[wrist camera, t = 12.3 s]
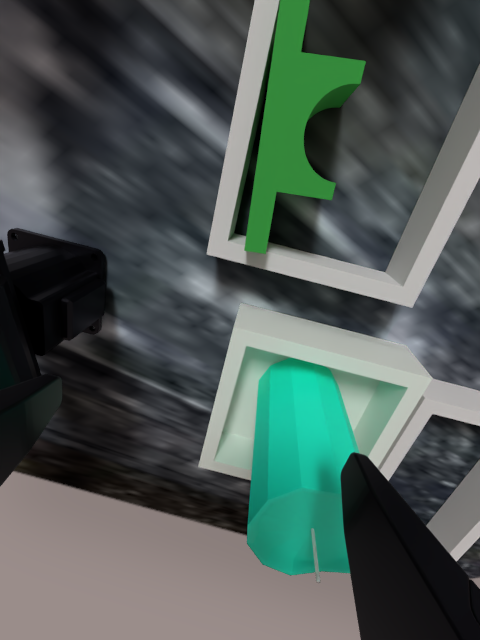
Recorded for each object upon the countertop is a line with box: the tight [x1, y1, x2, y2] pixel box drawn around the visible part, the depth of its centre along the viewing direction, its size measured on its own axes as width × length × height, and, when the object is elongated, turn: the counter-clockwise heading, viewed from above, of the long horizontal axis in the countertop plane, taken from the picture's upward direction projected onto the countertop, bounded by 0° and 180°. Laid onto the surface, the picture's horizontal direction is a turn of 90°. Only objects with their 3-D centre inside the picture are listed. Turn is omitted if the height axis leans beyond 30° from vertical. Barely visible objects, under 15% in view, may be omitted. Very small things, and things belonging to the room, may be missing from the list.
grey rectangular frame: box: [378, 379, 480, 561], centre depth 25 cm, size 10×18×3 cm, turn 167°
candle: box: [247, 358, 360, 583], centre depth 17 cm, size 6×6×12 cm
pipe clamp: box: [244, 0, 366, 254], centre depth 15 cm, size 11×4×5 cm, turn 172°
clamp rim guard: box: [207, 0, 480, 308], centre depth 15 cm, size 12×19×3 cm, turn 167°
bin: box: [198, 303, 433, 480], centre depth 22 cm, size 12×12×4 cm
